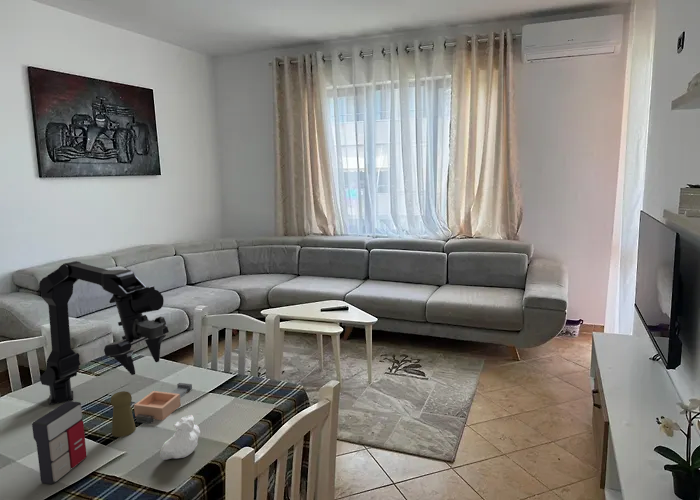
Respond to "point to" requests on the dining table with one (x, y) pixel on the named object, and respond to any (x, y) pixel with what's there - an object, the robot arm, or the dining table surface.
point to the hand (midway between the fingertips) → (145, 368)
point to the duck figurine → (181, 439)
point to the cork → (122, 414)
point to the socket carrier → (158, 404)
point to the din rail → (181, 390)
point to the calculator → (59, 441)
